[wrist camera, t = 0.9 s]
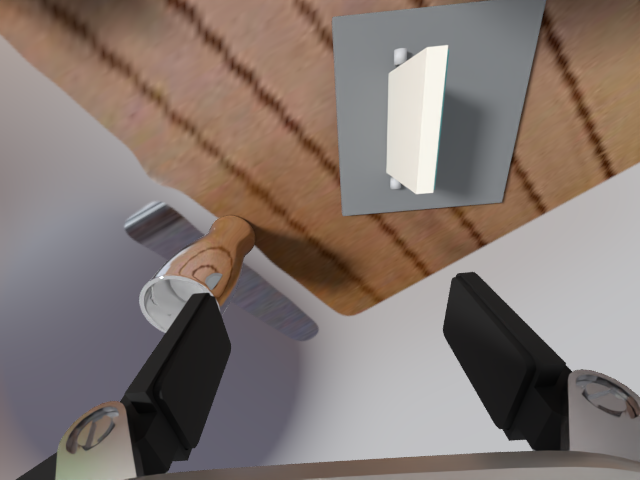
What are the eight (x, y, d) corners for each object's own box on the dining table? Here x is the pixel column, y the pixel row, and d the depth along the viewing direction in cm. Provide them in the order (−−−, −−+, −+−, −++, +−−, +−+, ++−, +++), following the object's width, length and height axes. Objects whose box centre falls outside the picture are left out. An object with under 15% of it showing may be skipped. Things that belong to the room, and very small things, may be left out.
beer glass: (265, 223, 34) (231, 290, 21) (250, 265, 37) (211, 348, 23) (213, 203, 33) (141, 261, 19) (202, 248, 36) (131, 326, 22)
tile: (388, 73, 26) (426, 47, 17) (404, 71, 26) (451, 44, 17) (386, 172, 30) (416, 194, 21) (399, 171, 30) (435, 192, 21)
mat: (331, 21, 25) (333, 12, 23) (537, 0, 25) (558, -12, 23) (342, 212, 34) (343, 219, 31) (495, 199, 33) (508, 205, 31)
